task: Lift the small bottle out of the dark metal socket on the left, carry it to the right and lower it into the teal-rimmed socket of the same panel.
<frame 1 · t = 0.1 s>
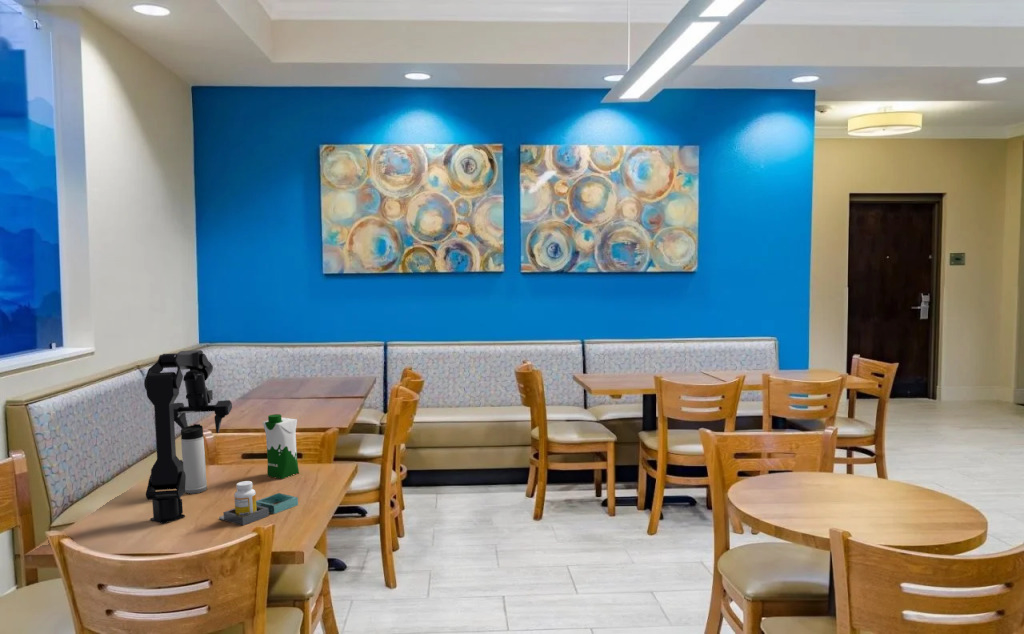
hand: (202, 433, 231), 15 cm above the table, tool pointing down, fingers open, 9 cm apart
milk carton: (283, 475, 236), on the table
supplement bottle: (246, 518, 196), resting in socket panel
travel mug: (196, 491, 222), on the table
socket panel: (261, 512, 200), on the table
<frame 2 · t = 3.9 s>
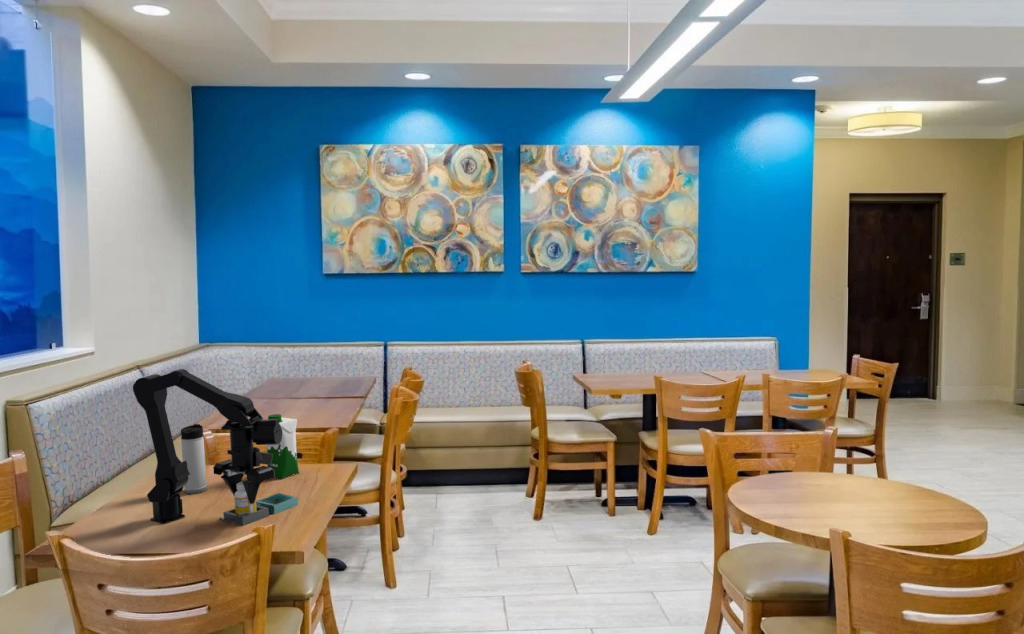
hand: (245, 501, 196), 5 cm above the table, tool pointing down, fingers closed on supplement bottle, 5 cm apart
supplement bottle: (246, 518, 196), resting in socket panel, touching gripper
everything else where it was.
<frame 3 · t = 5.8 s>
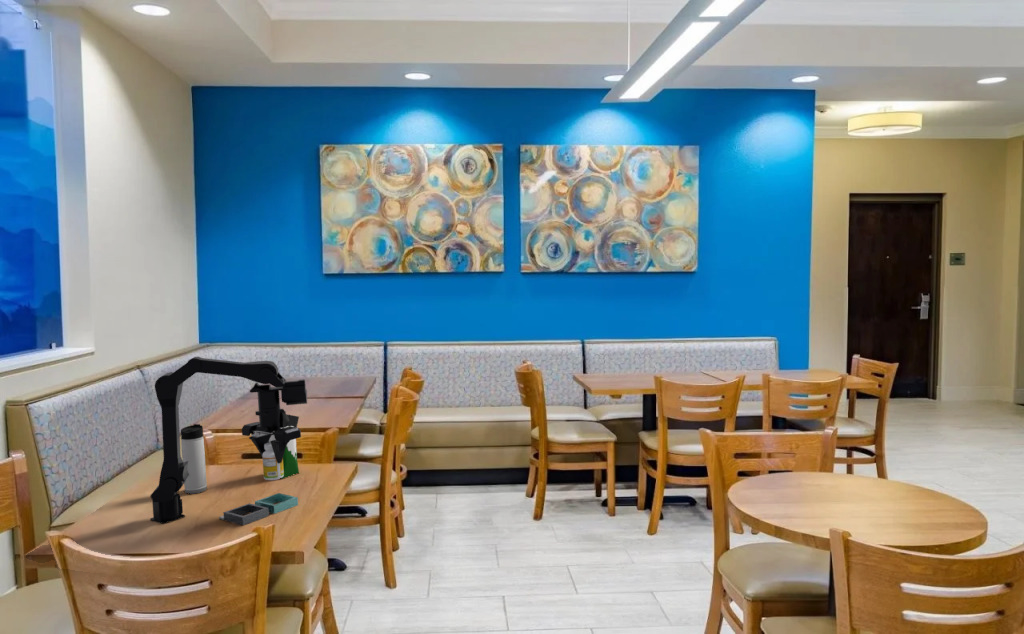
hand: (273, 461, 203), 13 cm above the table, tool pointing down, fingers closed on supplement bottle, 5 cm apart
supplement bottle: (274, 478, 203), point 8 cm above the table, touching gripper
everything else where it was.
when the fingers open (6 cm above the table, at t = 7.9 s): supplement bottle drops 1 cm, resting in socket panel.
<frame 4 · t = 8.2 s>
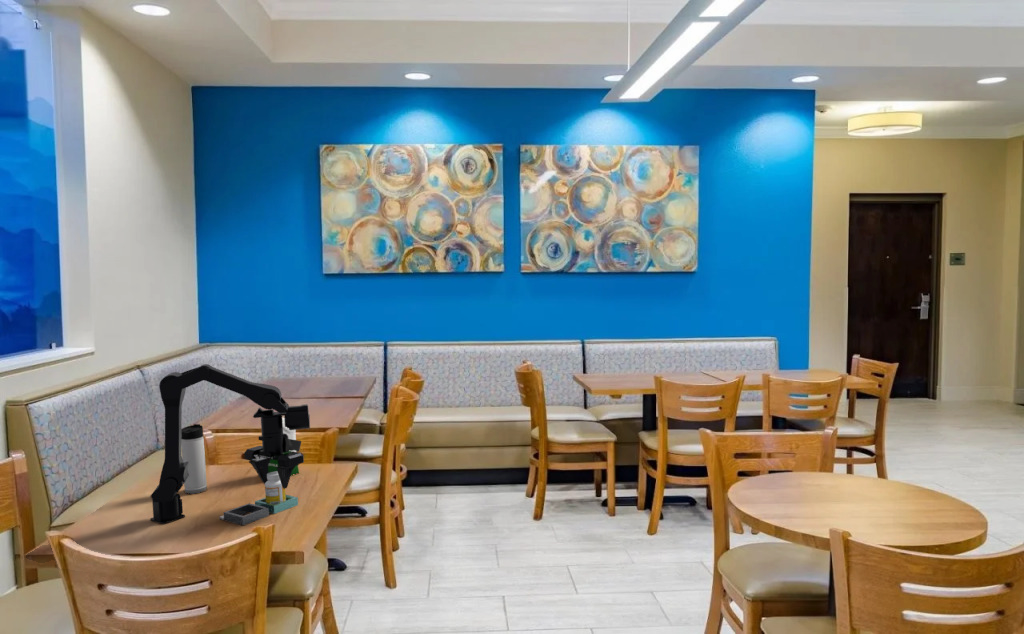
hand: (275, 486, 204), 6 cm above the table, tool pointing down, fingers open, 8 cm apart
supplement bottle: (276, 507, 205), resting in socket panel
everything else where it was.
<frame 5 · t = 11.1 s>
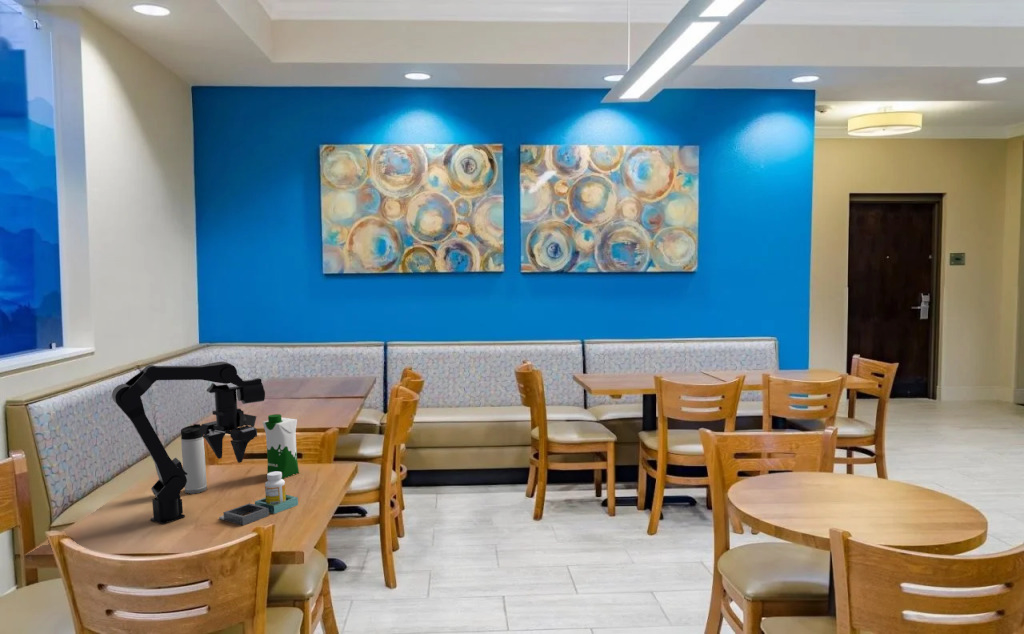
hand: (229, 460, 207), 13 cm above the table, tool pointing down, fingers open, 9 cm apart
nothing on the table moved.
at the end: supplement bottle 0.1 cm from the target spot on the socket panel, point 0.0 cm above the socket panel's base; supplement bottle tilted 0°; the gripper is holding nothing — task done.
